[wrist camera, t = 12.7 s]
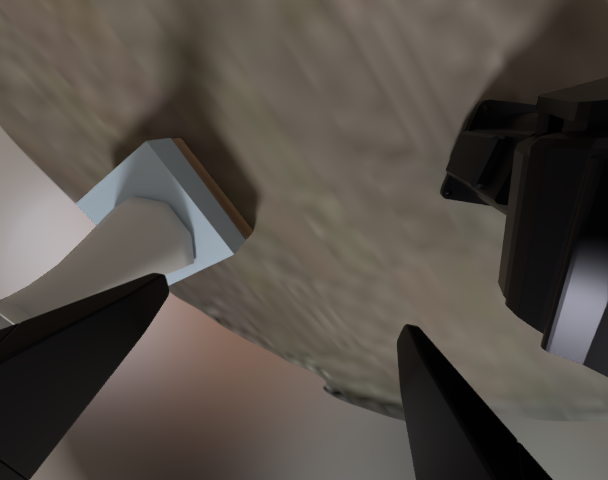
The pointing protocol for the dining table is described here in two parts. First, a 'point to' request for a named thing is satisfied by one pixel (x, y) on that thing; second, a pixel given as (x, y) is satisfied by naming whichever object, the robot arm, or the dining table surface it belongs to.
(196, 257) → the pale blue square slab
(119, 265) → the flask
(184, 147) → the walnut block
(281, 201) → the dining table surface
